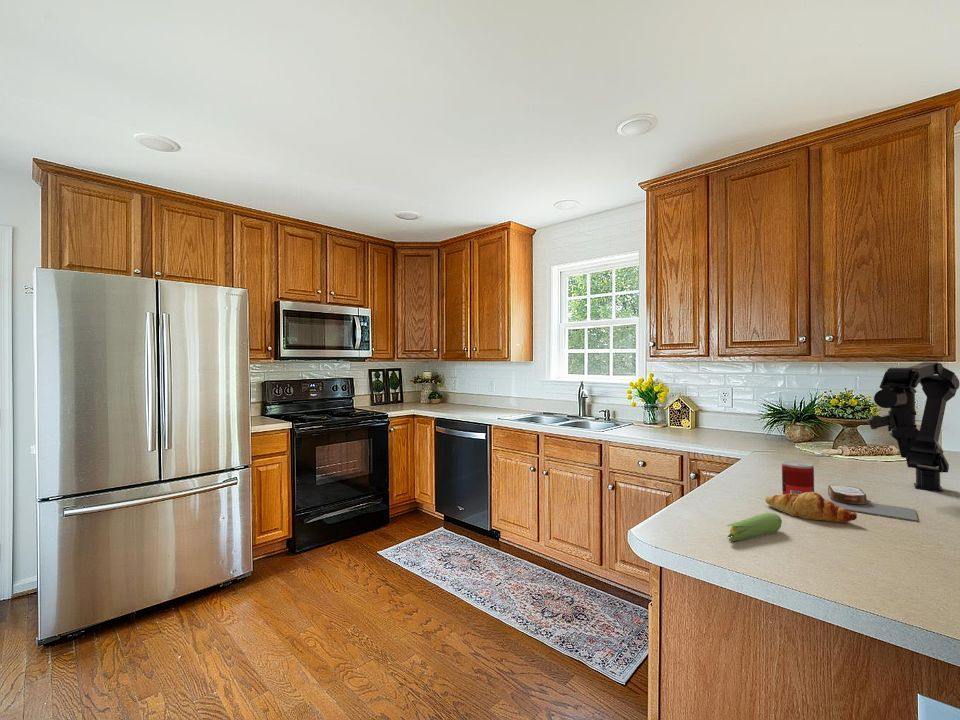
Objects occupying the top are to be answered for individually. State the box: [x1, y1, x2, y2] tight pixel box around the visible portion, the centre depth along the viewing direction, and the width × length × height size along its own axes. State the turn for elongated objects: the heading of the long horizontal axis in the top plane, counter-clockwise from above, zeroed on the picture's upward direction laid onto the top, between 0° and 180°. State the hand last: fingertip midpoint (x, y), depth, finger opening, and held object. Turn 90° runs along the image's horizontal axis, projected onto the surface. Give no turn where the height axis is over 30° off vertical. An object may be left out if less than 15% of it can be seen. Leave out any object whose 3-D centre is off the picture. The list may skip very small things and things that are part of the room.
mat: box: [831, 499, 919, 523], centre depth 127 cm, size 12×18×1 cm, turn 49°
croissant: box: [765, 491, 858, 523], centre depth 123 cm, size 21×10×8 cm, turn 38°
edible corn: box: [726, 512, 783, 542], centre depth 109 cm, size 5×20×5 cm
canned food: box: [781, 460, 815, 495], centre depth 137 cm, size 8×8×11 cm
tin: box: [827, 484, 868, 504], centre depth 136 cm, size 15×3×8 cm
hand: (903, 457), depth 140 cm, fingers closed
